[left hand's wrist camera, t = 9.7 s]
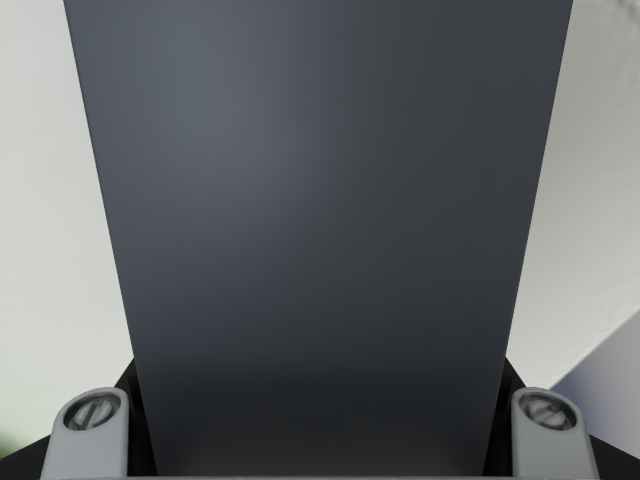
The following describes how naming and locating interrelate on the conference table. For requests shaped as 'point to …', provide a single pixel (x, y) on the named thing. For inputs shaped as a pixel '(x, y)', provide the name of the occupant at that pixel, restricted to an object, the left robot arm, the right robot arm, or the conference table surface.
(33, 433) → the conference table surface
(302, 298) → the post
